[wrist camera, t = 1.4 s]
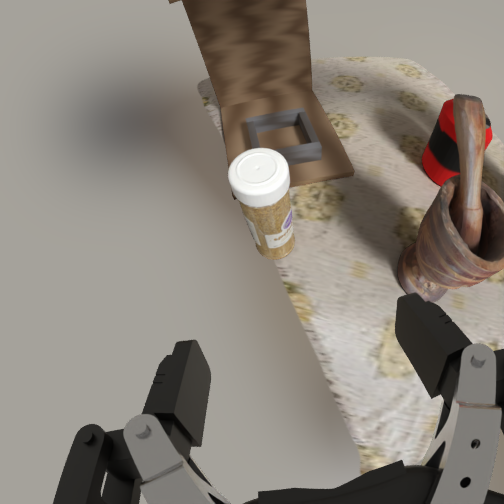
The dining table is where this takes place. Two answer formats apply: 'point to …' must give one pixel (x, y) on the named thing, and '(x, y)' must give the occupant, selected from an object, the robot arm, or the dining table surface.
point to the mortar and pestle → (458, 219)
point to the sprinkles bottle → (264, 199)
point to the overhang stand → (267, 84)
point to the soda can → (446, 147)
